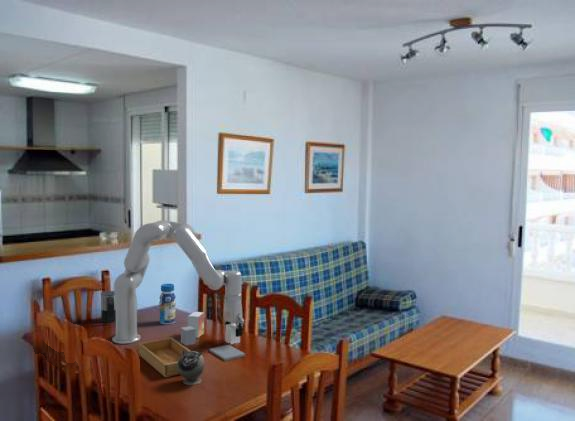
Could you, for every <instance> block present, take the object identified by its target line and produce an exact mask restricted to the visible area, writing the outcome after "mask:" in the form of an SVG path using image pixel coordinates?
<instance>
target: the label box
mask: <svg viewBox="0 0 575 421" xmlns="http://www.w3.org/2000/svg"><path fill="white" fill-rule="evenodd" d="M225 343H228V344H229V343H230V344H229V345H235V344H239V343H241V336H239V337H236V325H235V323H234V324H232V323H231V324H227V325H226V331H225ZM234 343H235V344H234Z"/></svg>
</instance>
